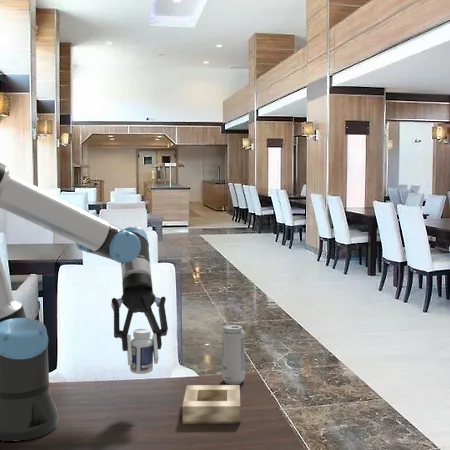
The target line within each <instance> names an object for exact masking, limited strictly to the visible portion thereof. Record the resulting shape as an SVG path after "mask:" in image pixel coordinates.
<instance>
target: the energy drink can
mask: <svg viewBox="0 0 450 450" xmlns="http://www.w3.org/2000/svg"><path fill="white" fill-rule="evenodd" d="M223 328H224V329H223V331H222V333H221V351H222V352H221V354H222V355H221V356H222V357H221V358H222V359H221V365H222V366H221V367H222V370H221V372H222V375H221V376H222V380H223V381H224V383H225V384H226V385H240V384H242V383H243V382H244V380H245V377H246V374H245V373H246V371H245V370H246V368H245V367H246V365H245V363H246V362H245V361H246V360H245V359H246V358H245V352H246V351H245V347H246V346H245V343H246V342H245V339H246V338H245V331H244V329H243V326H242V325H240V324H226V325H224V327H223Z"/></svg>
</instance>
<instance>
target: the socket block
mask: <svg viewBox="0 0 450 450" xmlns="http://www.w3.org/2000/svg"><path fill="white" fill-rule="evenodd" d="M240 386H241V385H240V384H234V385H233V384H213V385H212V384H204V385H203V384H200V385H199V384H197V385H196V384H194V385H193V384H191V385H190V384H189V385H188V384H186V387H185V392H184V396H183V402H182V424H183V425H186V424H189V425H190V424H191V425H193V424H196V425H198V424H199V425H200V424H207V425H209V424H212V425H213V424H220V425H221V424H241V387H240Z"/></svg>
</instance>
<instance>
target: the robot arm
mask: <svg viewBox="0 0 450 450" xmlns="http://www.w3.org/2000/svg"><path fill="white" fill-rule="evenodd" d="M0 209H2V210H4V211H6V212H9V213H10V214H13V215H15V216H17V217H19V218H21V219H24V220H26V221H28V222H31V223H32V224H35V225H37V226H39V227H41V228H43V229H45V230H48V231H50V232H52V233H54V234H57V235H59V236H61V237H62V238H65V239H68V240H69V241H72V242H74V243H75V245H76V248H77V249H78V250H80V251H83V252H86V253H87V254H93V255H96V256H100V257H102V258H106V259H110V260H113V261H115V262H116V263H119V264H120V265H121V267H120V268H121V279H122V282H121V284H122V295H121V297H120V298H116V297H112V298H111V309H112V310H113V338H115V339H117V338H118V339H120V340H121V346H122V347H121V348H122V352H126V354H127V355H126V356H127V366H130V365H131V364H132V350H131V340H132V338H131V334H129V330H130V326H131V323H132V319H133V315H134V314H136V313H137V314H138V313H141V314H142V313H143V314H144V316H145V317H146V319H147V322H148V324H149V327H150V328H151V331H152V338H151V339H152V341H153V365H157V364H159V363H158V362H159V359H160V357H159V350H161V349H162V344H163V343H162V337H166V336H168V335H167V334H168V331H169V327H168V321H167V314H166V313H167V312H166V308H165V305H166V304H165V303H166V300H167V299H166V298H167V297H165V296H161V297H157V296H156V295H155V293H154V289H153V281H152V279H153V278H152V272H151V271H152V270H151V263H150V262H151V260H150V250H149V249H150V244H149V239H148V234H147V232H146V231H145V230H144V229H143V228H141V227H137V226H134V227H132V226H128V227H126V228H124V229H122V228H120V227H118V226H116V225H113V224H112V223H109V222H108V221H107V220H104V219H103V218H100V217H98V216H97V215H94V214H92V213H91V212H88V211H86V210H84V209H82V208H80V207H79V206H76V205H74V204H73V203H70V202H68V201H67V200H64V199H62V198H61V197H58V196H56V195H55V194H52V193H50V192H48V191H47V190H45V189H43V188H40V187H39V186H36V185H34V184H32V183H30V182H28V181H27V180H25V179H22V178H20V177H18V176H16V175H14V174H12V173H11V172H10V171H9V169H8V166H7V165H5V164H3V163H1V162H0ZM154 303H155V304H156V306H157V307H156V308H158V315H159V316H158V317H159V323H160V326H159V323H158V322H157V319H156V316H155V315H154V312H153V309H152V306H153V305H154ZM122 304H123V306H125V308H127V313H126V317H125V320H124V325H123V328H122V330H120V329H121V328H120V308H121V306H122ZM23 305H24V304H23V302H22V301H19V300H17V299H15V298H14V296H13V293H12V290H11V286H10V284H9V279H8V277H7V275H6V272H5V268H4V265H3V262H2V259H1V257H0V440H3V441H2V442H4V441H14V440H25V441H29V440H28V439H30V440H33V439H37V438H40V437H43V436H45V435H47V434H49V433H51V432H53V431H54V430H55V429H56V428H57V427H58V425H59V423H60V421H59V412H58V408H57V406H56V403H55V401H54V399H53V396H52V394H51V391H50V374H49V372H50V371H49V347H48V346H49V335H48V331H47V326H46V325H45V323H43V322H41V320H40V321H39V320H37V319H31V318H28V317H27V315H26V312H25V309H24V306H23Z"/></svg>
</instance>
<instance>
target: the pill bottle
mask: <svg viewBox="0 0 450 450" xmlns="http://www.w3.org/2000/svg"><path fill="white" fill-rule="evenodd" d="M132 336H133V338H131V350H132V364H131V365H129V371H130V373H132V374H135V375H136V374H138V375H145V374H150V373H152V372H153V369H154V355H153V341H152V338H151V330H150V329H147V328H138V329H134V330H133V334H132Z"/></svg>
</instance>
